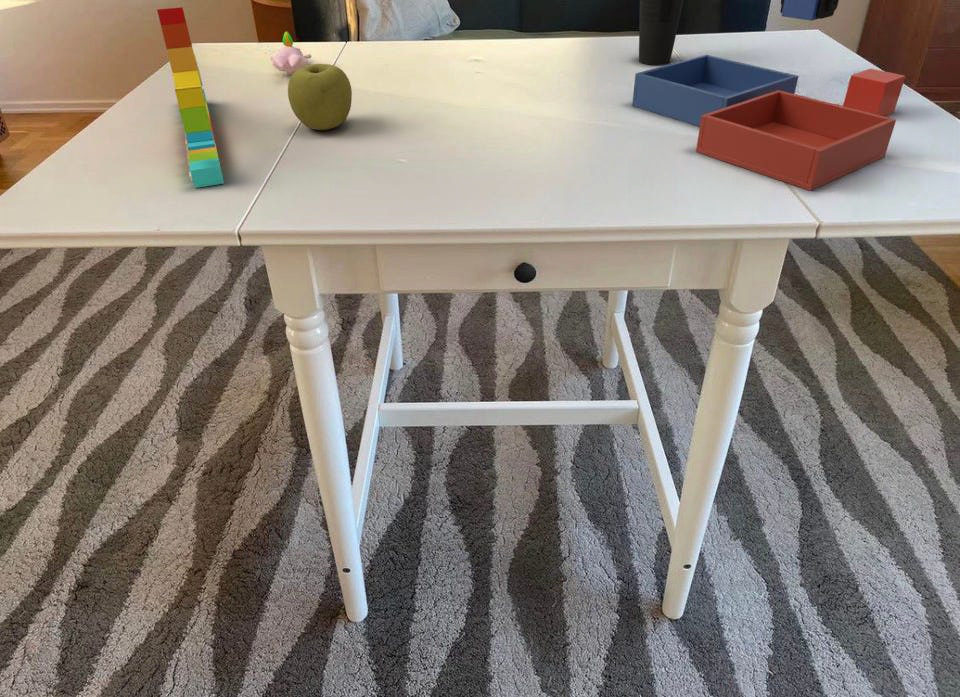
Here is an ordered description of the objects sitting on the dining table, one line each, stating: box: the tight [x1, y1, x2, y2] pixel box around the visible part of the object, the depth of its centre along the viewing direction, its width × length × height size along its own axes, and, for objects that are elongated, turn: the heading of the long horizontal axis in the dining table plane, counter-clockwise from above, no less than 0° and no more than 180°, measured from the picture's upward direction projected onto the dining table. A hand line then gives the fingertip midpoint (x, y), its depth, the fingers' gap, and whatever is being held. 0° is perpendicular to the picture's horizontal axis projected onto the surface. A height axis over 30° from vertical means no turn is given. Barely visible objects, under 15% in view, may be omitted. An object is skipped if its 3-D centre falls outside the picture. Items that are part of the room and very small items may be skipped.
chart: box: [156, 6, 225, 189], centre depth 83 cm, size 30×3×15 cm, turn 20°
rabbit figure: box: [269, 31, 312, 76], centre depth 109 cm, size 6×6×15 cm
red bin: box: [695, 90, 897, 192], centre depth 79 cm, size 14×14×4 cm
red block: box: [842, 68, 906, 117], centre depth 90 cm, size 4×4×4 cm
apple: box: [287, 63, 353, 131], centre depth 88 cm, size 8×8×7 cm
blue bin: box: [631, 54, 800, 128], centre depth 93 cm, size 14×14×4 cm
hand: (806, 12), depth 96 cm, fingers closed on blue block, 4 cm apart
